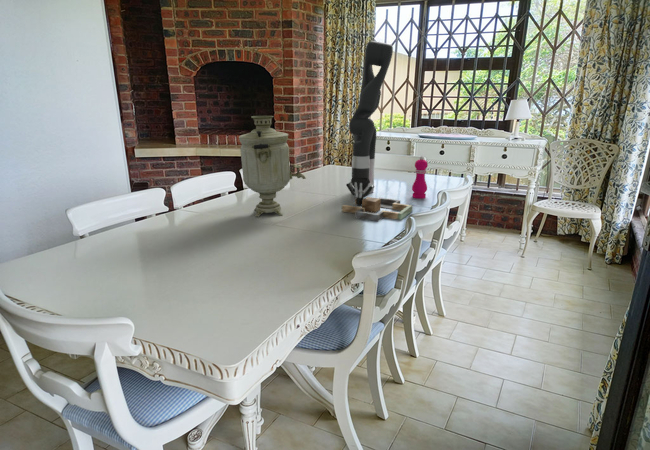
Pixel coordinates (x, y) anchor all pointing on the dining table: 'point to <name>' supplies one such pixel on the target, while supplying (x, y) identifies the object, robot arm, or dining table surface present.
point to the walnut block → (371, 204)
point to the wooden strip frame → (386, 214)
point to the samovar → (266, 163)
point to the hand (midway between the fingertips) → (359, 205)
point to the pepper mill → (420, 179)
